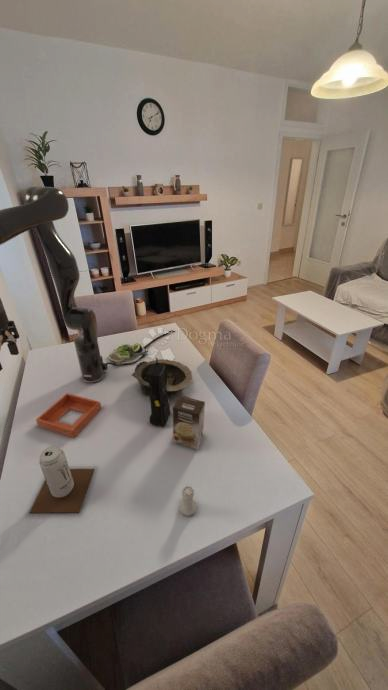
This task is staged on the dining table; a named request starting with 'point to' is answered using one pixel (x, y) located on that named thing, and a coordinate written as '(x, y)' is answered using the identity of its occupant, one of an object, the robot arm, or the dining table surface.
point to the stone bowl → (174, 372)
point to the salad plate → (127, 353)
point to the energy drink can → (56, 471)
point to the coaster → (67, 503)
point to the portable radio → (158, 394)
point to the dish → (62, 406)
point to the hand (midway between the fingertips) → (7, 361)
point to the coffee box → (188, 422)
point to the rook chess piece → (187, 501)
